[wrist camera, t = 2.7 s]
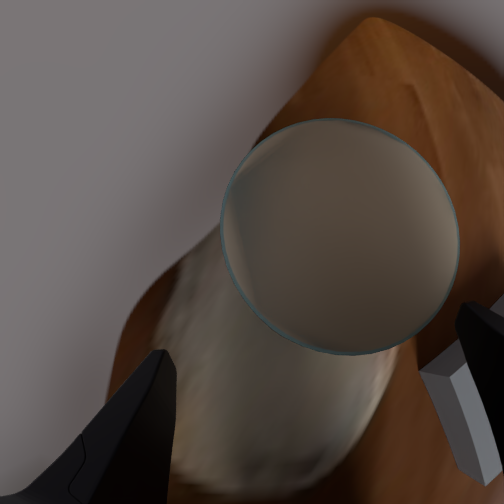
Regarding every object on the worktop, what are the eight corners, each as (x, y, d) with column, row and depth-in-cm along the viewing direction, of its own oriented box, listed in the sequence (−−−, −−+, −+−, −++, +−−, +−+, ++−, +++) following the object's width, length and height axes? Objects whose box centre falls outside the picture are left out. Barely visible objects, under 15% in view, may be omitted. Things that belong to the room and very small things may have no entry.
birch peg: (281, 351, 17) (300, 406, 4) (249, 291, 18) (181, 176, 5) (340, 317, 18) (492, 268, 4) (308, 260, 19) (371, 95, 5)
